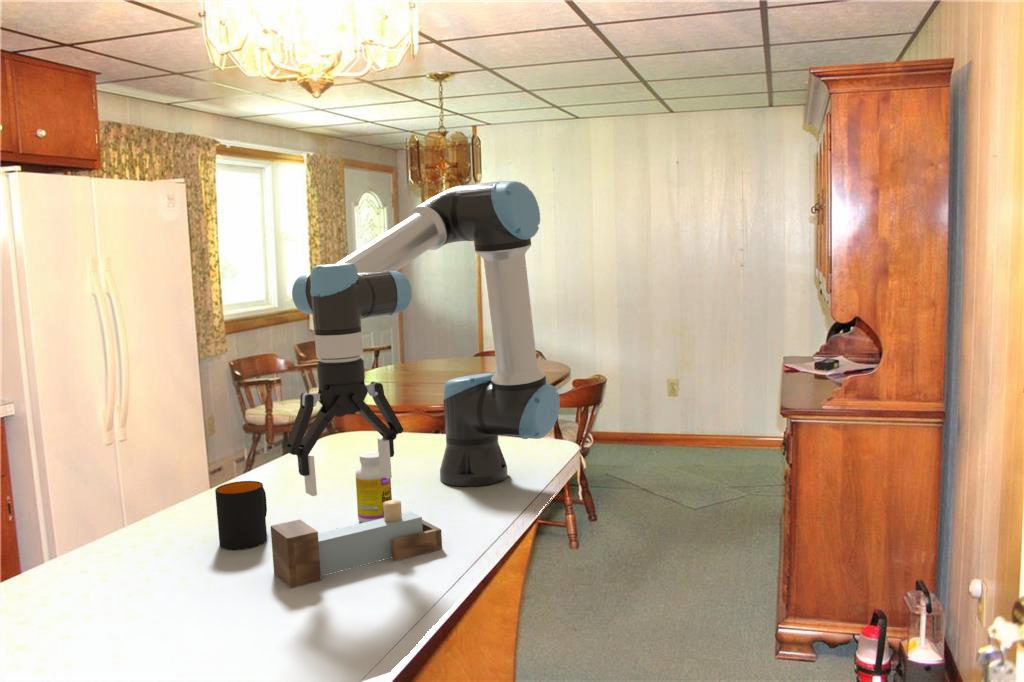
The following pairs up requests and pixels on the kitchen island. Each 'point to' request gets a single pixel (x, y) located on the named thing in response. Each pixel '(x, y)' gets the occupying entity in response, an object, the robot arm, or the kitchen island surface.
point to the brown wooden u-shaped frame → (417, 542)
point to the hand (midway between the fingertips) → (349, 485)
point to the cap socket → (295, 553)
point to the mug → (241, 515)
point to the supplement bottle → (371, 488)
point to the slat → (366, 539)
